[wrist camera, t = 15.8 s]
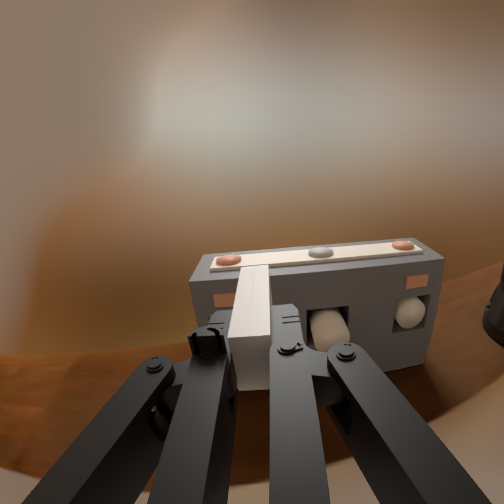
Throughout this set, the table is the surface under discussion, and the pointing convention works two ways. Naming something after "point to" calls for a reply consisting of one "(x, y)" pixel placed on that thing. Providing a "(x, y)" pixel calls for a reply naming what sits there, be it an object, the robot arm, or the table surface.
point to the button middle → (327, 328)
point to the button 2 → (409, 311)
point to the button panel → (338, 290)
